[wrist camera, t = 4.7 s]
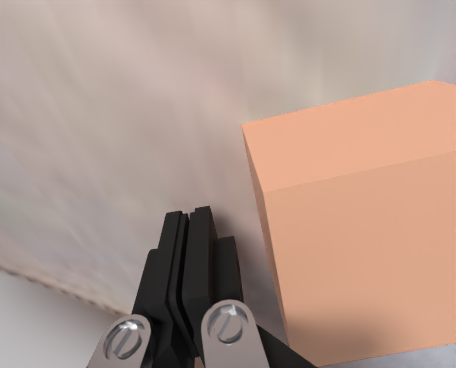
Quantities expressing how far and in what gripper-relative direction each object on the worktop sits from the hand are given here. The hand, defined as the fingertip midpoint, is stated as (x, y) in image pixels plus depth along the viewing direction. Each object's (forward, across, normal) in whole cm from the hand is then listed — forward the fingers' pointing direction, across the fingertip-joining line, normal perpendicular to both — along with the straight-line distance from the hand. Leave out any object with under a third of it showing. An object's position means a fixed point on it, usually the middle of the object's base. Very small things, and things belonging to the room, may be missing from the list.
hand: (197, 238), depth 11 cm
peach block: (+2, -6, 0) cm, 6 cm away
